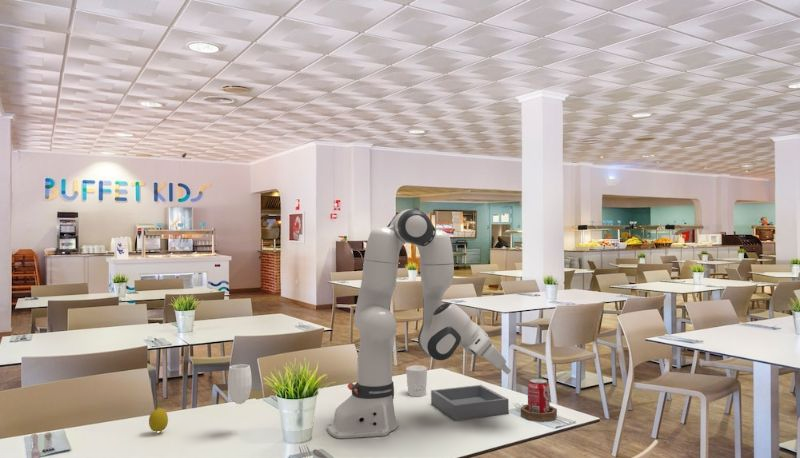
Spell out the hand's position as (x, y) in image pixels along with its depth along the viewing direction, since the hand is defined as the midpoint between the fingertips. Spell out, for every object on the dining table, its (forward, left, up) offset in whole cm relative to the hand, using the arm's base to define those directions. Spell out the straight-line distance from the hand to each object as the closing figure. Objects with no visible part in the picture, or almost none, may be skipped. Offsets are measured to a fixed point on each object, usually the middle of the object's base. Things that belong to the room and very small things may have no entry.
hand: (503, 368), depth 199 cm
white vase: (-83, +18, -17) cm, 87 cm away
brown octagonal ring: (+12, -2, -16) cm, 20 cm away
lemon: (-107, +27, -17) cm, 112 cm away
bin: (-6, +14, -16) cm, 22 cm away
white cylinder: (-16, +38, -17) cm, 44 cm away
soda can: (+12, -2, -17) cm, 20 cm away
